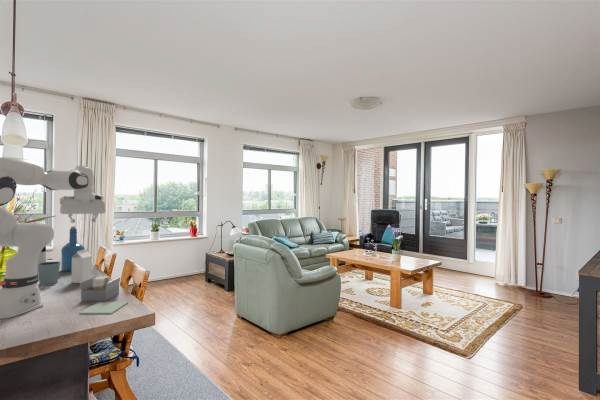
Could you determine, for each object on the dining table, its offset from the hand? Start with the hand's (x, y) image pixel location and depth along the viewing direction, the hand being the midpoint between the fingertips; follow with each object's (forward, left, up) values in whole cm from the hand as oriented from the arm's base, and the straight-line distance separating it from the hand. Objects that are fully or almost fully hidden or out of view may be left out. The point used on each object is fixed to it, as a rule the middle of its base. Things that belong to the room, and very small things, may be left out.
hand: (83, 222), depth 170 cm
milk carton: (+20, +14, -38) cm, 45 cm away
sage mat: (-25, -25, -38) cm, 52 cm away
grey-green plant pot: (+16, +30, -38) cm, 51 cm away
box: (-9, -14, -38) cm, 41 cm away
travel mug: (+27, +44, -38) cm, 64 cm away
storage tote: (-9, -14, -38) cm, 41 cm away
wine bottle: (+50, +39, -38) cm, 74 cm away
